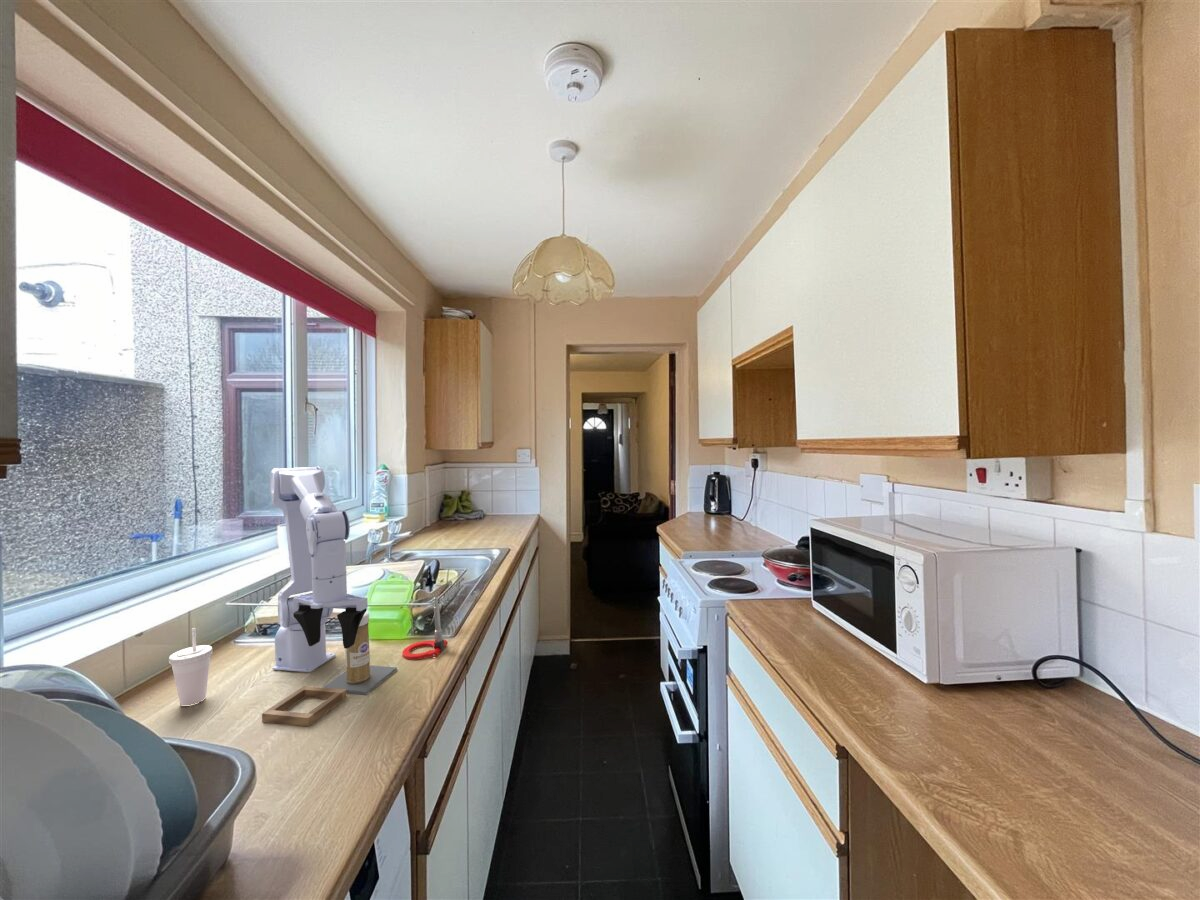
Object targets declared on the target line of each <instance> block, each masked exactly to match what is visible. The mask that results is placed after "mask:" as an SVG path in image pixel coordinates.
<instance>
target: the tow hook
mask: <svg viewBox="0 0 1200 900" xmlns="http://www.w3.org/2000/svg"><path fill="white" fill-rule="evenodd" d="M433 603H434V604H433V605H434V606H433V613H434V614H433V615H434V627H435V629H434V640H424V641H419V642H415V643H412V644H410V645H408V646H406V647H404V649H403V650H402V652H401V653H402V654H401V656H402V658H404V659H405V660H411V659H415V660H420V659H422V660H423V659H425V658H432V657H436V658H437V657H438V656H439V655H441V653H442V652H443V651H444V650H445V648H446V646H448V640H445V639H444V638H443V630H442V628H441V614H440V606H439V599H438V596H434V597H433ZM423 646H424V647H432V648H433V649H429V650H427V651H424V652H419V653H412V651H413V649H414V650H416V649H418V647H419V648H423ZM415 648H416V649H415ZM410 651H411V652H410Z"/></svg>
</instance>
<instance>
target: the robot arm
mask: <svg viewBox="0 0 1200 900" xmlns="http://www.w3.org/2000/svg"><path fill="white" fill-rule="evenodd" d="M325 477H326V476H325V472H324V469H323V468H322V467H321V466H317V465H316V466H309V467H307V466H306V467H289V468H287V467H286V468H278V467H274V468H273V469H272V470H271V471H270V477H269V484H270V485H269V487H270V494H271V495H270V496H271V502H272V503H273V504H272V505H273V507H274V508H277V509H279V510H282V513H283V517H284V520H285V528H286V529H285V530H286V540H287V549H288V560H289V567H290V569H289V570H290V577H291V581H290V582H289V583H288V584H287V585H286V586H285V587H284V588H282V590H281V591H280V592H279V594H278V596H277V601H278V602H277V603H278V604H277V616H278V617H277V618H278V622H279V625H280V627H279V628H278V630H277V632H276V634H275V637H274V656H275V659H274V661H275V665H274V666H272V668H271V669H272V670H276V671H287V672H288V671H289V672H302V673H311V672H312V671H315V669H317V668H319V667H321V666H322V665H324V664H325V663H326V662H328V661H330V660H332V659H333V658H335V657H336V653H332V652H331V653H329V652H327V642H326V640H327V638H326V634H327V633H326V623H327V622H328V618H330V617H331V616H332V614H333V612H334V609H337V610H338V609H340V610H341V609H342V610H345V611H342V612H340V613H338V614H337V615H336V617H337V619H338V622H339V625H340V628H341V632H342V633H341V634H342V646H343V649H345V648H346V649H347V648H349V647H351V646H352V645H354V644H355V639H356V634H357V631H358V627H359V625H360V622H361V620H362V618H363V616H364V614H365V612H367V609H368V607H369V606H368V605H369V604H368V603H369V602H368V597H362V596H359V595H354V594H351V593H348V590H347V589H348V586H347V583H348V582H347V556H346V555H347V553H346V551H347V549H346V541H347V540H348V539H349V537H350V531H351V530H350V529H351V527H350V519H349V516H348V513H347V511H346V510H345V509H343V510H342V509H337V508H336V506H335V503H334V502H333V501H332V499H331V497H330V496H329V495H327V494H326V493H323V491H324V489H325V486H326V480H325ZM309 592H310V593H309ZM305 593H306V594H305ZM298 594H300V595H298ZM293 595H295V596H293ZM296 595H297V596H296Z"/></svg>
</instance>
